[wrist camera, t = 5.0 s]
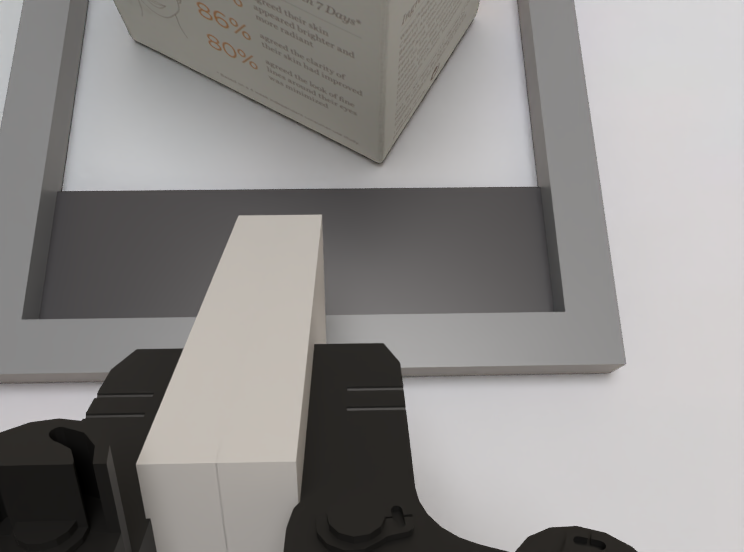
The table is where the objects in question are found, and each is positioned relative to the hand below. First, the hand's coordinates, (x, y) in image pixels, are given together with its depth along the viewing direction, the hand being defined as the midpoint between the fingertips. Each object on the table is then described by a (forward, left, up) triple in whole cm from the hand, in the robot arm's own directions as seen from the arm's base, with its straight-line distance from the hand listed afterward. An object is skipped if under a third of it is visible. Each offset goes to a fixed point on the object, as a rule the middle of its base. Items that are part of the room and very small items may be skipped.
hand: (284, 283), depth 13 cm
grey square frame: (0, +7, -4) cm, 8 cm away
